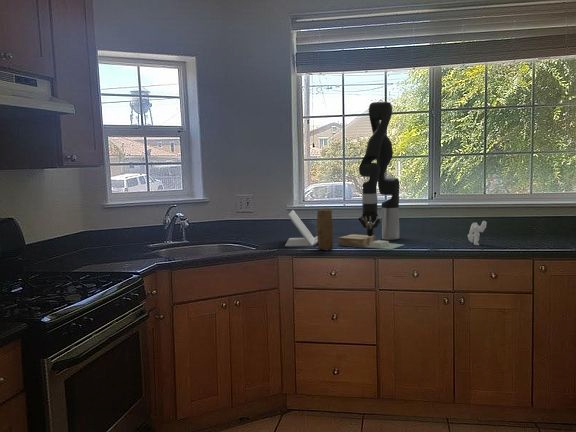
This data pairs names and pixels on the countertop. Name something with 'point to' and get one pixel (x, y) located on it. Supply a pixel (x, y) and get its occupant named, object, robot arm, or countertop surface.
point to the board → (356, 240)
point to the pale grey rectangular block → (378, 243)
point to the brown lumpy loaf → (324, 229)
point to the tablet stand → (308, 237)
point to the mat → (390, 246)
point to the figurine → (476, 232)
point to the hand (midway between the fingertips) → (370, 236)
